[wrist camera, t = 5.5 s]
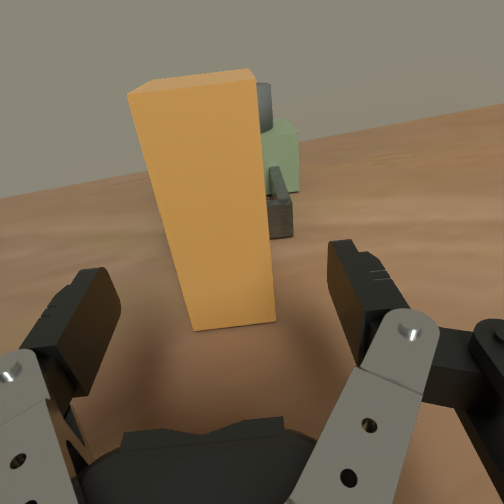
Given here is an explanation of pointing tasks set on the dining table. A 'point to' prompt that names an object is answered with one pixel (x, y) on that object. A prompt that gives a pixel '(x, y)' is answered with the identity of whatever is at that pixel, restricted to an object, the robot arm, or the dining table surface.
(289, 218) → the dark grey tray
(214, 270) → the tall orange pillar
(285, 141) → the mower housing
